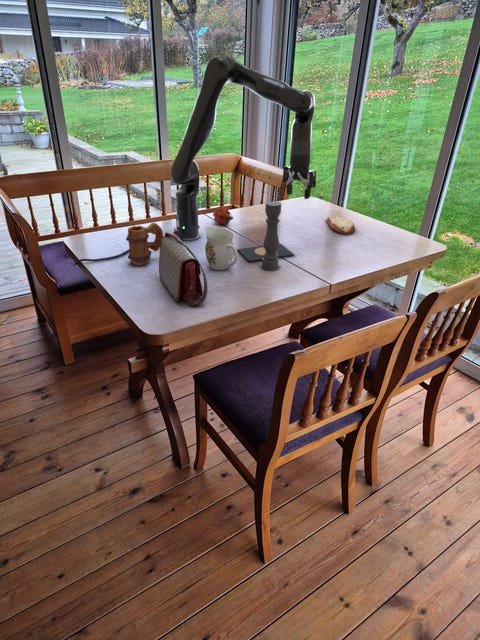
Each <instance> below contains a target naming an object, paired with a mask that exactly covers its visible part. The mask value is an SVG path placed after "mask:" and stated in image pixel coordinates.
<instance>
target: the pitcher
mask: <svg viewBox="0 0 480 640" xmlns="http://www.w3.org/2000/svg"><path fill="white" fill-rule="evenodd" d="M204 229H205V231H206V232H205V238H206V242H205V249H204V252H205V257H206V260H207V263H208V265H209V267H211V269H213V270H216V271H225V270H227V269H229V267H233V266H235V265H236V264H237V263H238V257H239V252H238V251H237V249H238V248H236V245H234V241H233V239H234V233H233V232H232V231H231V230H227V229H225V228H216V227H211V226H206V227H204Z"/></svg>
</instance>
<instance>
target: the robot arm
mask: <svg viewBox="0 0 480 640" xmlns="http://www.w3.org/2000/svg"><path fill="white" fill-rule="evenodd" d="M202 77H203V78H202V82H201V86H200V89H199V93H198V96H197V98H196V100H195V103H194V107H193V109H192V112H191V114H190V118H189V120H188V123H187V127H186V130H185V133H184V135H183V138H182V141H181V144H180V147H179V149H178V151H177V154H176V156H175V158H174V160H173V162H172V164H171V167H170V178H171V180H172V182H173V183H174V184H176V185H179V186H180V187H179V188H178V190H177V191H176V193H175V205H176V206H175V208H176V215H175V225H176V226H175V227H173V231H172V232H173V233H174V234H175V235H176V236H178V237H179V238H180V240H181V241H194V240H195V241H196V240H197V239H199V238H200V233H199V232H200V231H199V229H200V225H199V201H198V200H199V199H198V198H199V197H198V195H199V193H200V169H199V165H198V163H197V162H196V161H195V160H194V159H195V158H196V156H197V155H198V153H199V152H200V151H201V149H202V148H203V147H204V146H205V145H206V143H207V141H208V140H209V138H210V136H211V133H212V131H213V129H214V126H215V123H216V117H217V104H218V102H219V101H218V100H219V99H220V96H221V93H222V91H223V89H224V87H225V85H227V84H235V85H239V86H242V87H244V88H247V89H248V90H250V91H251V92H253V93H254V94H255V95H257V96H258V97H261V98H263V99H265V100H266V101H269V102H272V103H275V104H276V105H277V104H278V105H280V106H282V107H284V108H285V109H287V110H289V111H291V112H294V120H293V122H292V125H291V136H290V137H291V139H290V145H289V165H285V166H283V171H282V183H284V184H285V185H286V195H287V196H291V195H292V194H293V187H294V186H293V183H294V182H295V181H298V182H301V184H302V185H303V187H304V195H303V199H304V200H309V199H310V197H311V192H312V189H313V188H316V187H317V170H310V165H311V156H312V125H313V124H312V123H313V118H314V113H315V108H316V107H315V106H316V99H315V96H314V94H313V92H312V91H310V90H308V89H304V90H301V89H298V88H295V87H292V86H290V85H289V84H288V83H286V82H284V81H282V80H279V79H276V78H274V77H272V76H270V75H266V74H264V73H261V72H259V71H257V70H254V69H252V68H250V67H249V66H247V65H245V64H243V63H242V62H240V61H238V60H237V59H236V58H234V57H232V56H230V55H229V54H219V55H215V56H213V57H211V58H210V59H209V60H208V61H207V64H206V65H205V69H204V73H203V76H202ZM153 242H154V241H148V243H153ZM127 253H130V249H129V248H128V249H127V250H125V251H123V252H121V253H119V254H116V255H113V256H107V257H101V258H81V259H78V260H76V261H75V262H74V264H73V266H77V265H78V264H79V263H80V262H81V263H82V262H101V261H107V260H112V259H117V258H120V257H122V256H124V255H126V254H127Z"/></svg>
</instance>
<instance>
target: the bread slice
mask: <svg viewBox="0 0 480 640" xmlns="http://www.w3.org/2000/svg"><path fill="white" fill-rule="evenodd" d="M326 223H327V224H328V226H329V227H330V228H331V229H332V230H333V231H335V232H336V233H338V234H340V235H341V234H342V235H344V236H345V235H351V234H353V232H354V231H355V230H356V228H355V223H354V222H352V220H348V219H346V218H345V217H340V216H334V215H328V216H327V217H326Z"/></svg>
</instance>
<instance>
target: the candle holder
mask: <svg viewBox="0 0 480 640" xmlns="http://www.w3.org/2000/svg"><path fill="white" fill-rule="evenodd" d="M264 209H265V211H264V212H265V215H266V218H265V222H266V232H265V235H264V239H263V242H262V243H263V244H262V246H264V249H265V251H266V252H265V254H264V255H263V257H264V258H263V260H261V261H262V263H261V267H262V269H263V270H266V271H276V270H278V268H279V258H278V254H277V253H276V251H277V249H278V248H279V244H280V242H279V240H280V239H279V234H278V225H279V223H280V221H281V220H280V219H279V218H280V215H281V213H282V203H281V201H275V200H274V201H273V200H272V201H271V200H270V201H266V202H265V208H264Z"/></svg>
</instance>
